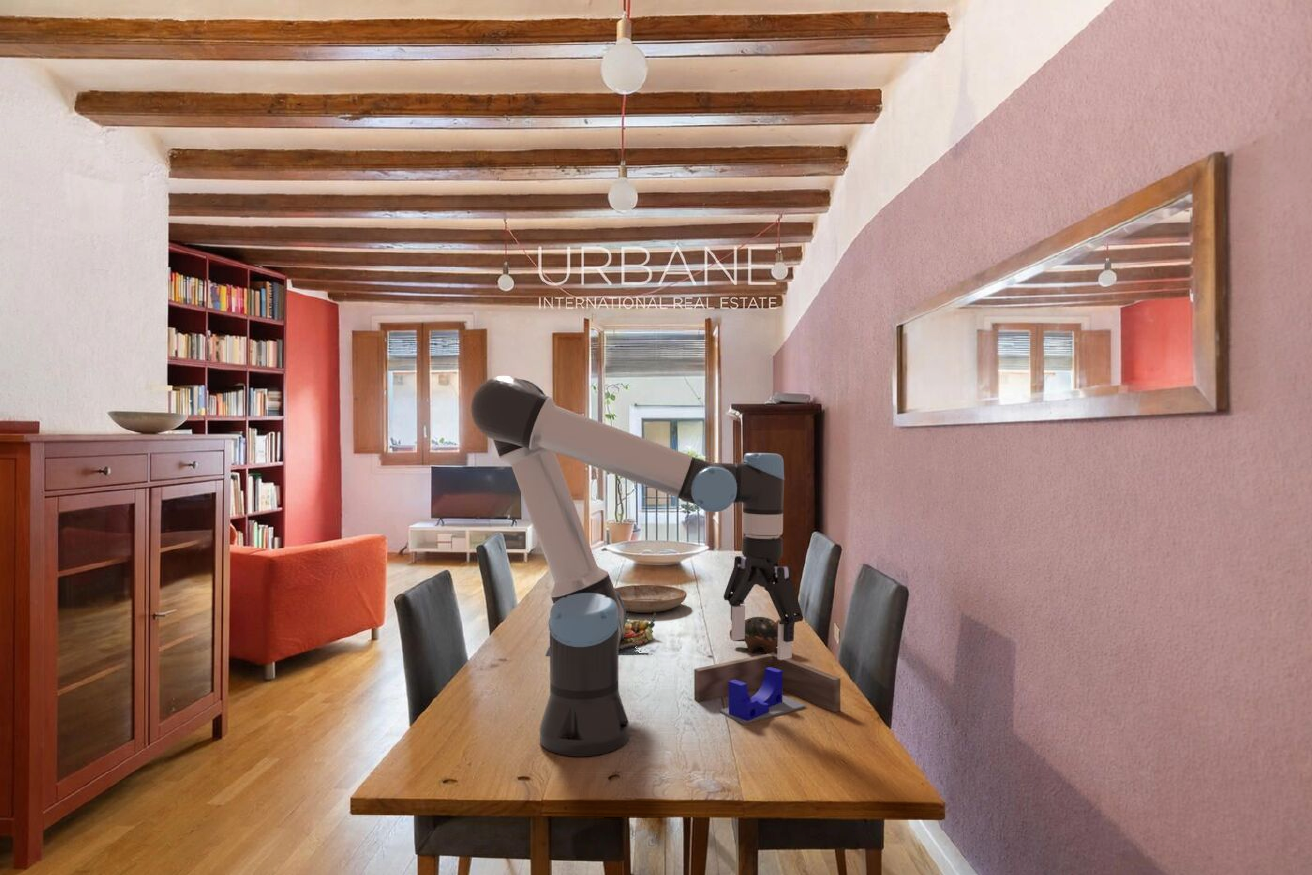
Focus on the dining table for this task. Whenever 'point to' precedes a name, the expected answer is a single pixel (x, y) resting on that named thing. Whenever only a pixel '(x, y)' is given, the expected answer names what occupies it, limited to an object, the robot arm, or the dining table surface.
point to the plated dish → (633, 636)
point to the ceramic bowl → (650, 597)
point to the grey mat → (770, 710)
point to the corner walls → (752, 672)
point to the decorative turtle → (761, 634)
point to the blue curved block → (755, 696)
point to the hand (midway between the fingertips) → (760, 648)
